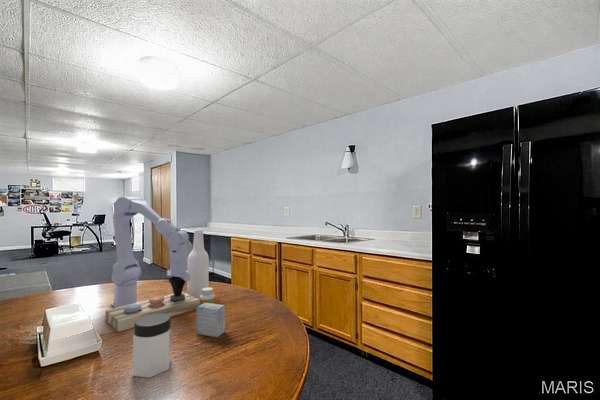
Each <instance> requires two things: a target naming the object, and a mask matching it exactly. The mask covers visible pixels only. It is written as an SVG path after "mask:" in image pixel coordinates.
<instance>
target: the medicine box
mask: <svg viewBox="0 0 600 400" xmlns="http://www.w3.org/2000/svg"><path fill="white" fill-rule="evenodd" d="M225 332H226V305H225V304H220V303H219V304H218V303H215V304H212V303H204V304H202V305H200V306H198V307H197V309H196V334H197V335H201V336H202V335H203V336H206V337H207V336H208V337H213V338H218V337H219V338H220V337H221V335H223V334H224V333H225Z"/></svg>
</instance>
